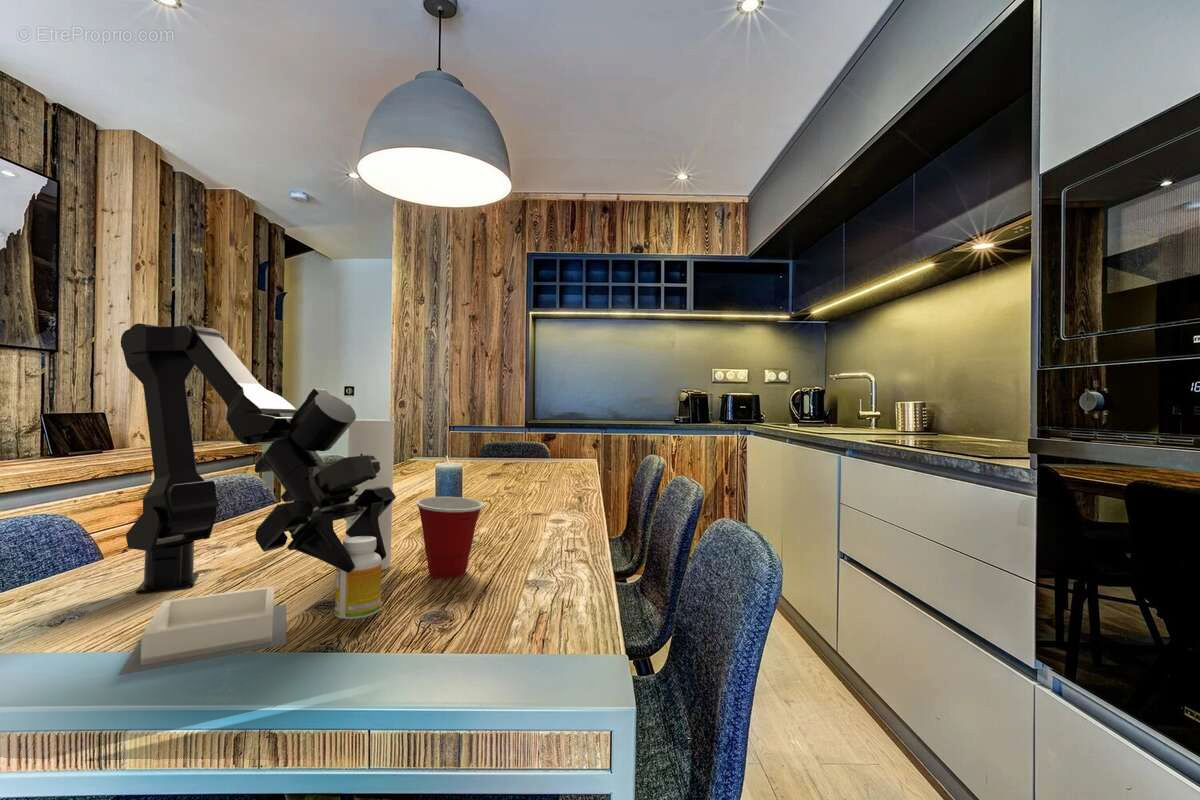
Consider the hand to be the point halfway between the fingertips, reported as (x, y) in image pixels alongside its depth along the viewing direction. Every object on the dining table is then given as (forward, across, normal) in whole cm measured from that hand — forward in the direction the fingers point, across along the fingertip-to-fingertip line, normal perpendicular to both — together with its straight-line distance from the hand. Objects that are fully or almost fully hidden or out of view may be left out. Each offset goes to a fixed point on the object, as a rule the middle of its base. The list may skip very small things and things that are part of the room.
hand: (368, 564), depth 68 cm
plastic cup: (+4, +19, +5) cm, 20 cm away
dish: (-4, -11, +12) cm, 17 cm away
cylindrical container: (-6, +18, +16) cm, 24 cm away
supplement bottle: (+4, 0, +6) cm, 7 cm away
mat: (-3, -11, +13) cm, 17 cm away
